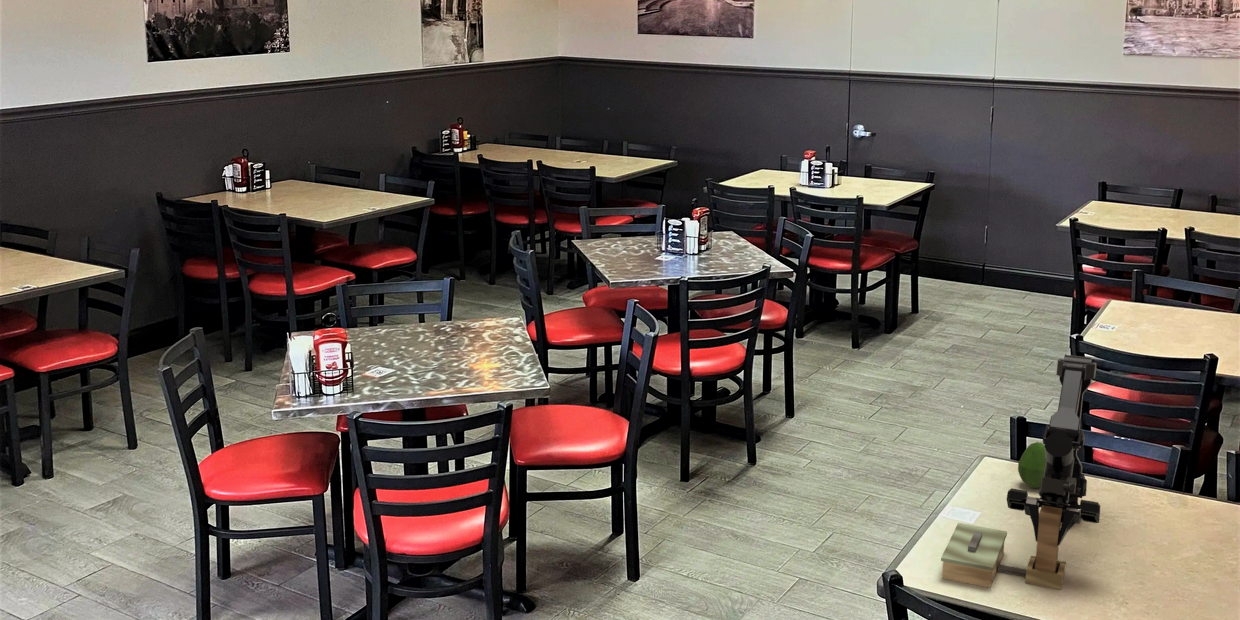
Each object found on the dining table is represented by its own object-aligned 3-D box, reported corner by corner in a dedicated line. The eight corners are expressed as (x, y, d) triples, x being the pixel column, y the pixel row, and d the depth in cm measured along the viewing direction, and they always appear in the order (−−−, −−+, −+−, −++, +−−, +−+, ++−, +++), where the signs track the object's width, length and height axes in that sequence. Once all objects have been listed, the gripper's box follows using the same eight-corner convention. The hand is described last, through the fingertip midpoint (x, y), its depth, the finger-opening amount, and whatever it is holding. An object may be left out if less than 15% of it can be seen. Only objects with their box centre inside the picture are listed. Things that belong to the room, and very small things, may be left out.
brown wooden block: (1037, 564, 248) (1042, 505, 244) (1056, 568, 246) (1061, 508, 242) (1034, 572, 244) (1039, 512, 240) (1054, 576, 242) (1059, 515, 239)
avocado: (1050, 482, 294) (1053, 439, 291) (1049, 494, 287) (1053, 450, 284) (1017, 478, 297) (1020, 435, 293) (1015, 490, 289) (1019, 446, 286)
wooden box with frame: (956, 542, 262) (958, 517, 261) (1067, 562, 252) (1070, 537, 250) (939, 578, 246) (941, 552, 245) (1057, 602, 236) (1059, 575, 234)
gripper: (1010, 453, 246) (999, 521, 240) (1103, 467, 238) (1094, 537, 231) (1014, 474, 255) (1002, 539, 248) (1103, 488, 247) (1094, 556, 240)
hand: (1047, 542), depth 242 cm, fingers closed on brown wooden block, 4 cm apart
